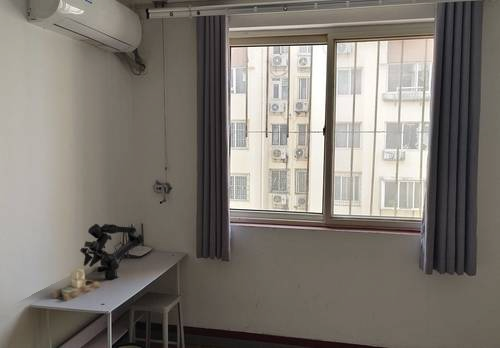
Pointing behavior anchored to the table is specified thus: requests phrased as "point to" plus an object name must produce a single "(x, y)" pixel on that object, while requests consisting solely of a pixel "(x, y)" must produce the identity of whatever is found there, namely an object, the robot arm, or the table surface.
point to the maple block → (78, 278)
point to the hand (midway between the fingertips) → (87, 266)
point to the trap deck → (75, 290)
